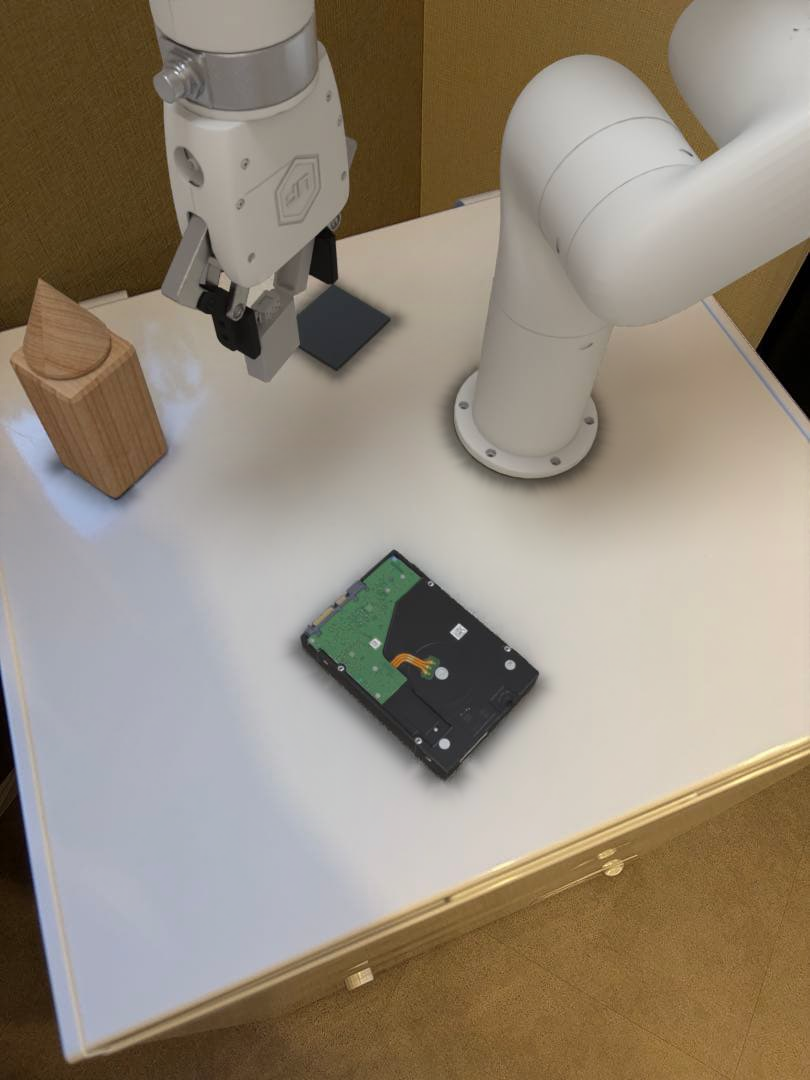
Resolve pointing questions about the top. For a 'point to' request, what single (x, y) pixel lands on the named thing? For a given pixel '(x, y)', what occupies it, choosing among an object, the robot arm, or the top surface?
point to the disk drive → (419, 662)
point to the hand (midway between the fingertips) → (279, 308)
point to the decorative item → (88, 393)
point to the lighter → (279, 316)
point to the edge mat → (337, 326)
